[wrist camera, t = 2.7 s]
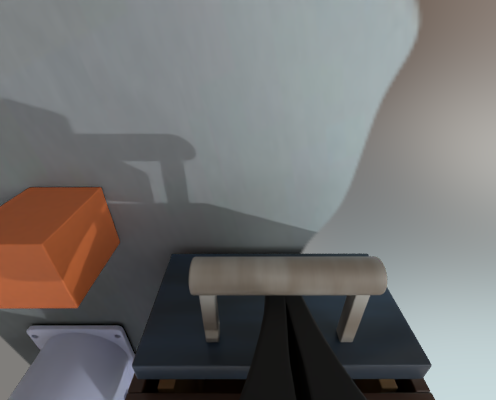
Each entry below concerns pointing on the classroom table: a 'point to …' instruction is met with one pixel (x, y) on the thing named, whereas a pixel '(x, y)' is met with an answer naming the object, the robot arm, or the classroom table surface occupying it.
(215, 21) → the classroom table surface
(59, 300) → the block
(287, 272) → the drawer
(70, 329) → the robot arm
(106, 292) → the classroom table surface
